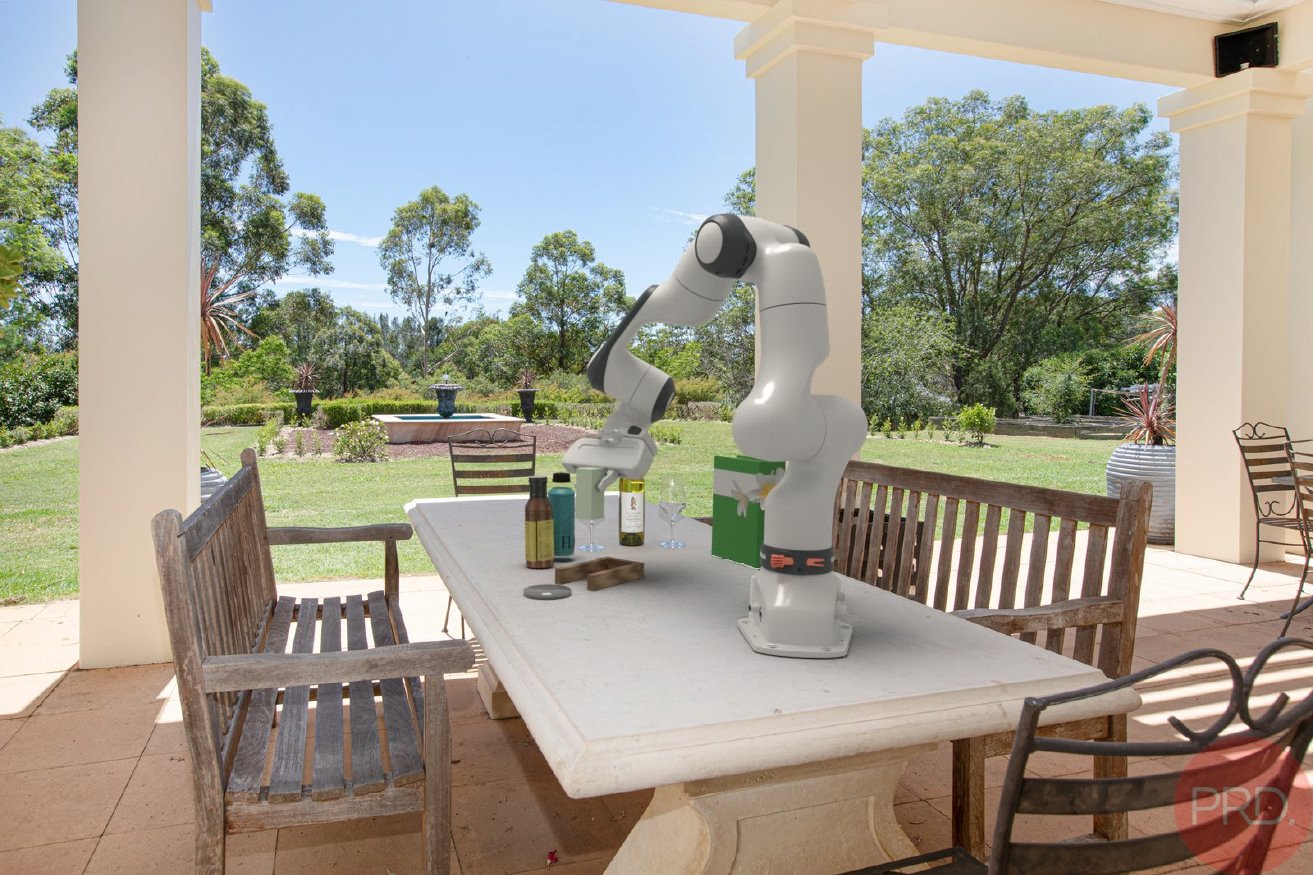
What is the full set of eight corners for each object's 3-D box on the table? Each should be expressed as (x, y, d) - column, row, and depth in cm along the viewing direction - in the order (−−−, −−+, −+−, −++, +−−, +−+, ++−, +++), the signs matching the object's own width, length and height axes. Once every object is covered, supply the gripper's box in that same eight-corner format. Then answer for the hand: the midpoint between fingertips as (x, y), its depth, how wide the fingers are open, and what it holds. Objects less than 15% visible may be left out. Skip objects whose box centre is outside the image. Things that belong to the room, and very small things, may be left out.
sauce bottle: (556, 564, 189) (558, 475, 188) (550, 570, 183) (552, 478, 181) (527, 563, 189) (529, 474, 188) (520, 568, 183) (522, 477, 182)
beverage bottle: (561, 564, 189) (562, 474, 188) (539, 560, 193) (541, 472, 192) (580, 560, 194) (582, 472, 193) (559, 556, 198) (561, 470, 197)
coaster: (565, 600, 156) (565, 596, 156) (517, 598, 157) (517, 594, 157) (575, 589, 165) (575, 585, 165) (530, 587, 166) (530, 583, 166)
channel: (607, 570, 184) (607, 556, 184) (644, 577, 178) (644, 562, 178) (554, 583, 170) (555, 568, 170) (593, 591, 165) (593, 575, 164)
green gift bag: (711, 555, 203) (714, 455, 202) (736, 553, 207) (739, 455, 206) (756, 570, 188) (759, 461, 187) (782, 567, 192) (785, 461, 190)
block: (588, 516, 173) (589, 467, 173) (603, 518, 171) (604, 468, 170) (575, 518, 170) (576, 468, 169) (590, 520, 168) (591, 469, 167)
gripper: (575, 425, 181) (542, 474, 174) (652, 430, 169) (621, 482, 162) (588, 446, 185) (557, 494, 177) (665, 451, 173) (634, 503, 166)
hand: (588, 488), depth 169 cm, fingers closed on block, 4 cm apart
